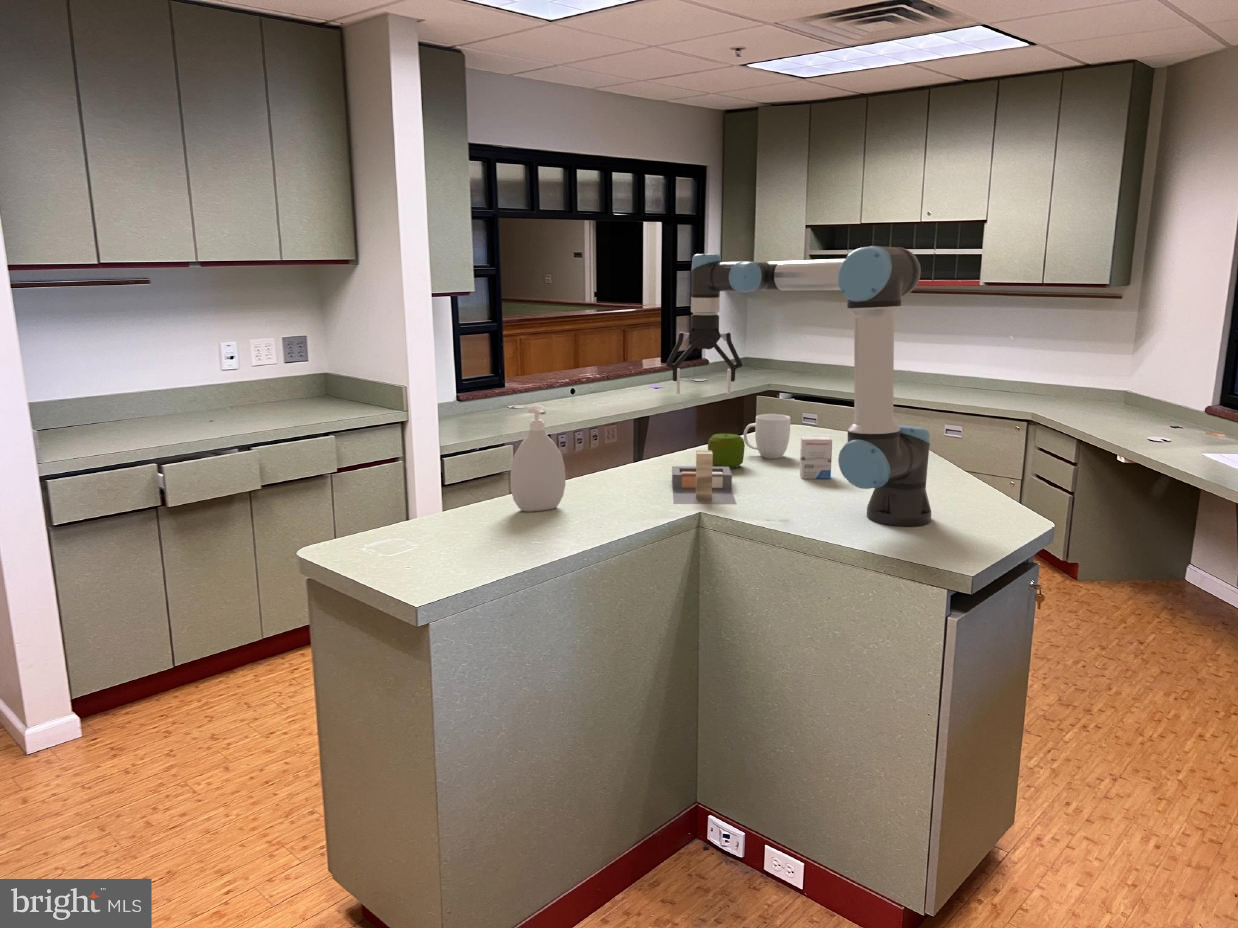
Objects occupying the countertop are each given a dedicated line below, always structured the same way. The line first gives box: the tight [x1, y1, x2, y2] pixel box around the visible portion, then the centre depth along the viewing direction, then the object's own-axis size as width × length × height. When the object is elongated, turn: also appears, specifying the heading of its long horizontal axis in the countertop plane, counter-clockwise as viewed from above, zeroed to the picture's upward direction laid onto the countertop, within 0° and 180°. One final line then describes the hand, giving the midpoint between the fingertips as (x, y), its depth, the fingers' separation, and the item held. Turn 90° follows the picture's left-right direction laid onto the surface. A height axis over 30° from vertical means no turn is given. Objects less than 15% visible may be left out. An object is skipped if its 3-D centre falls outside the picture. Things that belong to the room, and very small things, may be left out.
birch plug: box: [695, 450, 713, 499], centre depth 230 cm, size 4×4×12 cm
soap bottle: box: [509, 403, 566, 513], centre depth 220 cm, size 14×8×27 cm, turn 114°
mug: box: [743, 413, 791, 460], centre depth 284 cm, size 15×11×13 cm
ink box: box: [799, 436, 833, 480], centre depth 256 cm, size 9×5×12 cm, turn 84°
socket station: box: [671, 465, 737, 505], centre depth 237 cm, size 26×16×6 cm, turn 178°
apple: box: [707, 432, 746, 470], centre depth 270 cm, size 11×11×11 cm
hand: (703, 393), depth 237 cm, fingers open, 13 cm apart
